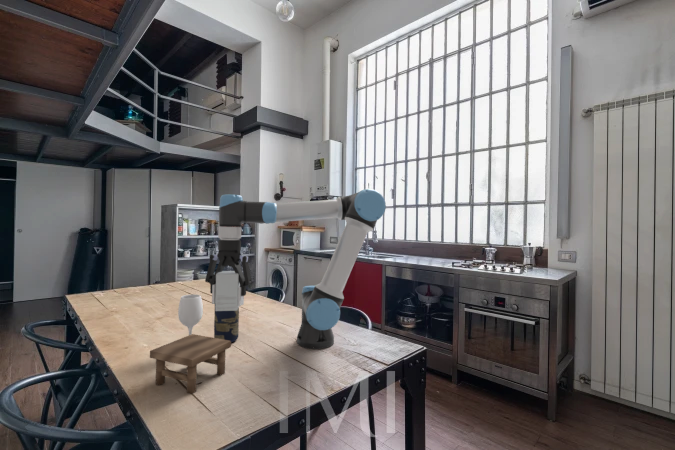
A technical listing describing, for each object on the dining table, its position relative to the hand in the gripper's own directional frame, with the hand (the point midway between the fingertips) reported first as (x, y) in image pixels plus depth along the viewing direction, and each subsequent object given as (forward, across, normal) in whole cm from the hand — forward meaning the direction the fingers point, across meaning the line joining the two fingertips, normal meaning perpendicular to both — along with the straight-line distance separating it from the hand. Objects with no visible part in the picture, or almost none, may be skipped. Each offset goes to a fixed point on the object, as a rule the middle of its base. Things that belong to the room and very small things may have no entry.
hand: (227, 304), depth 111 cm
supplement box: (+2, 0, 0) cm, 2 cm away
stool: (+20, +4, +14) cm, 24 cm away
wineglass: (+20, +16, -3) cm, 26 cm away
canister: (+20, +10, -18) cm, 29 cm away
